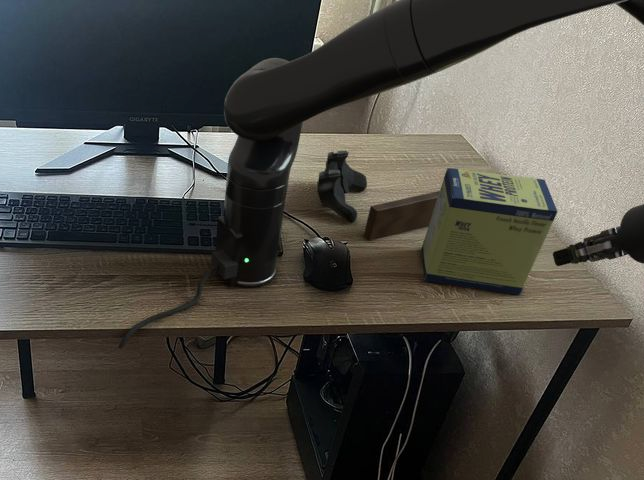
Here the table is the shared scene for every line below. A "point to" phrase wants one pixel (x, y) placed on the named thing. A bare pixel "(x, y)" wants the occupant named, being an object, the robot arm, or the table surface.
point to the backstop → (400, 216)
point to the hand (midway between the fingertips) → (557, 258)
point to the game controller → (339, 185)
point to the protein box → (487, 230)
